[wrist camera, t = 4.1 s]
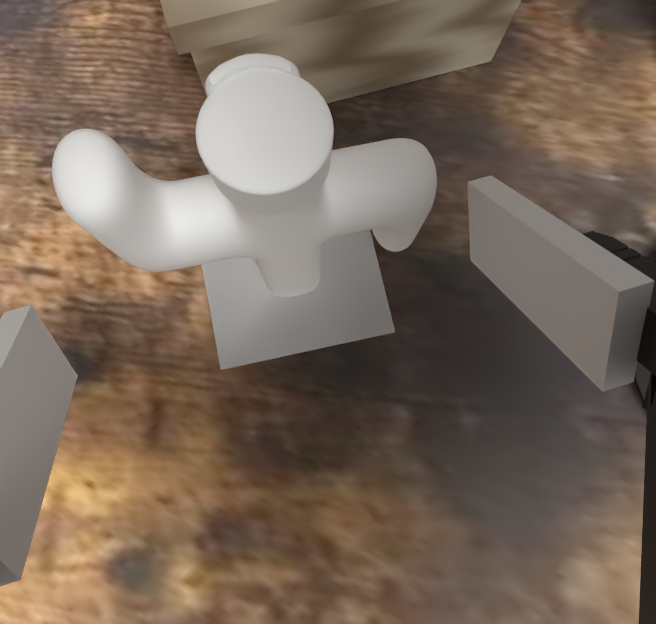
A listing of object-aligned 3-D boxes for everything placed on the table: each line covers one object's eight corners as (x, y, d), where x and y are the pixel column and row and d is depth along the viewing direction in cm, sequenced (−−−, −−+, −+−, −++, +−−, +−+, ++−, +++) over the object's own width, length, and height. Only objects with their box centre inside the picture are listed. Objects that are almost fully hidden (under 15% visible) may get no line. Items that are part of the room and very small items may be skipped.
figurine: (406, 338, 25) (538, 235, 10) (212, 380, 24) (44, 338, 9) (371, 199, 26) (442, -76, 11) (186, 236, 25) (3, -1, 11)
